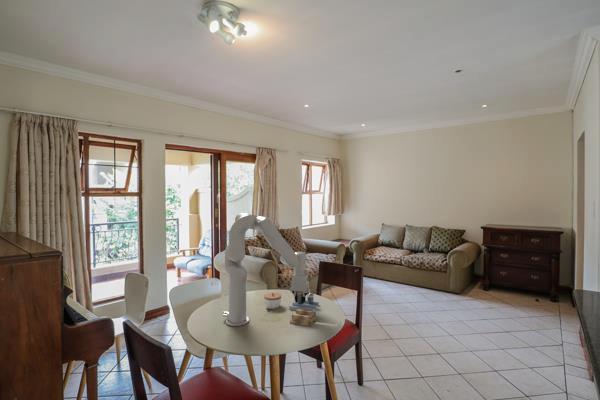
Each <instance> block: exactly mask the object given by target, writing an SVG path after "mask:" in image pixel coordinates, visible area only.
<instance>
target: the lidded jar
mask: <svg viewBox="0 0 600 400" xmlns="http://www.w3.org/2000/svg"><path fill="white" fill-rule="evenodd" d="M263 297H264V298H263V300H264V305H265V307H266V308H267V309H268V310H270V309H273V310H274V309H277V308H279V307H280V305H281V303H282V294H281V293H278V292H268V293H265V294H264V296H263Z"/></svg>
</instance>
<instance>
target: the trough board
mask: <svg viewBox="0 0 600 400" xmlns="http://www.w3.org/2000/svg"><path fill="white" fill-rule="evenodd" d="M319 307H320V302H319V301H315V300H313V305H310V304H307V300H306V299H305V302H304V303H303V304H297V303H295V301H293V302H292V305H289V306H288V310H290V311H296V310H297V309H300V310H307V311H314V312H317V310H318V309H319Z"/></svg>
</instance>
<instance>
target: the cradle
mask: <svg viewBox="0 0 600 400" xmlns="http://www.w3.org/2000/svg"><path fill="white" fill-rule="evenodd" d="M316 312H317V311H315V312H314V311H307V310H300V309H297V310H295V313H292V314H291V319H290V321H289V324H292V325H293V324H295V325H300V326H306V327H312V325H313V324H314V322H315V320H316V318H317V315H316V314H317V313H316ZM299 314H301V315H299ZM306 315H308V316H306Z"/></svg>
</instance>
